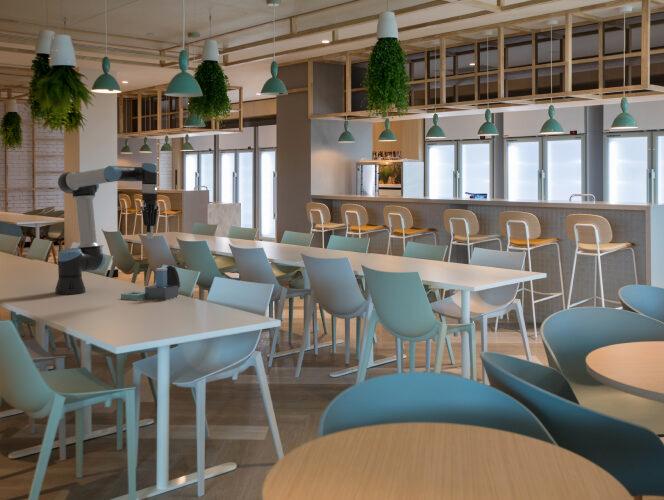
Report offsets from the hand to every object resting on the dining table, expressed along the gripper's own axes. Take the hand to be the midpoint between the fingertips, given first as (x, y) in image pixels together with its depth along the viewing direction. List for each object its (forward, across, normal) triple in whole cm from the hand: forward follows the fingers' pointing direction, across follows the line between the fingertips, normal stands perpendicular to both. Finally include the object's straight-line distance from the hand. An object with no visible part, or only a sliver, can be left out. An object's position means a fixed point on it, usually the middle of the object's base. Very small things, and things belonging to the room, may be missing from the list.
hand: (150, 238), depth 359 cm
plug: (+29, -2, -8) cm, 31 cm away
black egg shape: (+31, +13, -4) cm, 33 cm away
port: (+30, -2, -8) cm, 32 cm away
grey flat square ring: (+30, -8, +4) cm, 32 cm away
